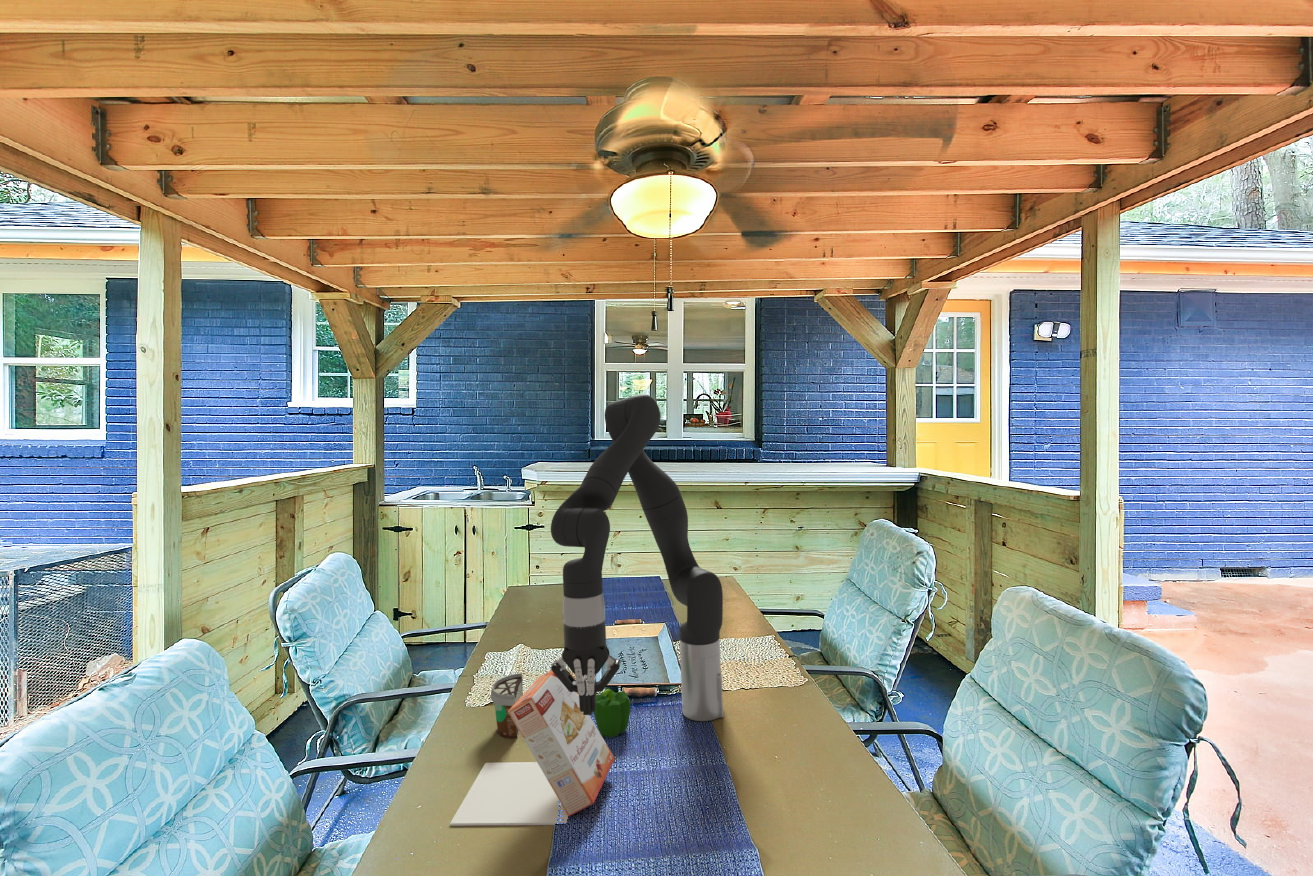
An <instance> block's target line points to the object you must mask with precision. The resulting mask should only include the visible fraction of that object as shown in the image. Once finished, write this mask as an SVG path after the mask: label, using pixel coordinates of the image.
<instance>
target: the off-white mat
mask: <svg viewBox="0 0 1313 876" xmlns="http://www.w3.org/2000/svg"><path fill="white" fill-rule="evenodd" d="M558 801H559V799H558V797H557V796H556V794H555V792H554V790H553V789H552V787H551V785H550V784H549V782H548V780H547V778H546V777H545V775H544V773H543V771H542V770H541V768H540V766H539V764H538V763H537V761H524V762H523V761H521V762H520V761H517V762H515V761H513V762H512V761H511V762H503V761H502V762H485V763H484V764H483V767H482V768H481V770H480V771H479V773H478V775H477V777H476V778H475V780H474V782H473V783H472V784H471V787H470V788H469V790H468V792H467V793H466V796H465V797H464V799H463V801H462V802H461V803H460V806H459V807H458V809H457V811H456V813H455V814H454V816H453V818H452V819H451V821H450V823H449V826H451V827H455V826H456V827H457V826H458V827H459V826H460V827H461V826H463V827H465V826H466V827H467V826H469V827H470V826H471V827H473V826H476V827H477V826H556V825H555V824H556V823H568V821H567V819H568V820H569V818H568V814H567V813H566V811H565V809H564V808H563V806H562V804H561V805H560V807H561V808H559V802H558ZM558 810H564V811H561V812H563V813H562V814H561V813H560V815H563V817H562V818H561V817H559V816H558V815H559V811H558ZM558 817H559V818H560V819H561V821H560V822H557V819H558ZM562 819H564V821H563V820H562ZM558 821H559V820H558Z"/></svg>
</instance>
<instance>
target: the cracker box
mask: <svg viewBox="0 0 1313 876" xmlns="http://www.w3.org/2000/svg"><path fill="white" fill-rule="evenodd" d="M508 713H509V714H510V716H511V718H512V720H513V721H514V723H515V725H516V727H517V728H518V730H519V734H520V735H521V737H522V738H523V740H524V742H525V744H526V746H527V748H529V750H530V752H531V754H532V756H533V758H534V759H535V762H537V763H538V764H539V766H540V768H541V770H542V771H543V773H544V775H545V777H546V778H547V780H548V782H549V784H550V785H551V787H552V789H553V790H554V792H555V794H556V796H557V797H558V799H559V801H560V802H561V804H562V806H563V808H564V809H565V811H566V813H567V814H568V816H569V817H571V816H573V815H575V814H576V813H579V812H580V811H582V810H584V809H586V808H588V807H590V806H593V804H595V802H596V799H597V797H598V795H599V792H600V791H601V789H602V787H603V784H604V782H605V780H606V778H607V776H608V774H609V772H610V770H611V768H612V765H613V764H614V761H615V756H614V755H613V753H612V751H611V749H610V748H609V746H608V744H607V743H606V741H605V739H604V738H603V736H602V734H601V733H600V731H599V730H598V727H597V725H596V724H595V722H594V721H593V719H592V718H591V715H583V712H581V711H580V705H579V694H578V693H577V692H569V691H568V689H567V688H566V687H565V686H564V685H563V683H562V682H561V681H560V680H559V679H558V677H557V676H556V675H555V674H554V673H553V671H552V670H551V669H550V670H549V671H547V672H546V673H544V674H543V675H541V676H539V677H538V678H537V679H536V680H535V681H534V682H533V684H531V686H530V687H528V689H527V690H526V691H525V692H523V695H522V696H521V697H520V699H519V700H518V701H517V702H516V703H515V704H514V705H513V706H512V707H511V708H510V709H509V711H508Z"/></svg>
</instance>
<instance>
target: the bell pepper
mask: <svg viewBox="0 0 1313 876" xmlns="http://www.w3.org/2000/svg"><path fill="white" fill-rule="evenodd" d="M631 705H632V702H631V700H630V698H629V696H628V694H627V693H626V691H624V690H621V691H618V692H615V691H614V690H612V689H610V688H607V689H606V688H605V689H604V690H603V691H602V692H601V693H600V694H596V708H595V711H594V712H593V716H594V720H595V722H596V724H595V725H596V727H597V729H598V731H599V732H600V734H601V736H602V737H604V738H607V737H613V738H615V737H618V736H619V734H622V733H624V732H626V731H627V729H628V724H629V722H630V721H629V720H630V715H631V711H632V710H631V709H632V708H631Z"/></svg>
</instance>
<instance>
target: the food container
mask: <svg viewBox="0 0 1313 876" xmlns="http://www.w3.org/2000/svg"><path fill="white" fill-rule="evenodd" d="M523 681H524V679H523V673H522V672H521V673H514V674H513V673H512V674H509V675H507V676H504V677H502V678H500V679H498V680H497V681H495V682H494V684H493V685H492V687H491V691H490V700H491V702H493V703H494V711H495V719H496V720H495V721H496V728H497V733H498V735H499V736H500V737H502V738H504V739H508V740H509V739H510V740H511V739H512V740H513V739H514V740H515V739H519V734H520V732H519V730H518V728H517V727H516V725H515V723H514V721H513V720H512V718H511V716H510V714H509V713H508V711H509V709H510V708H511V707H512V706H513V705H514V704H515V703H516V702H517V701H518V700H519V699H520V697H521V696H522V695H523V694H524V691H523Z"/></svg>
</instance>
